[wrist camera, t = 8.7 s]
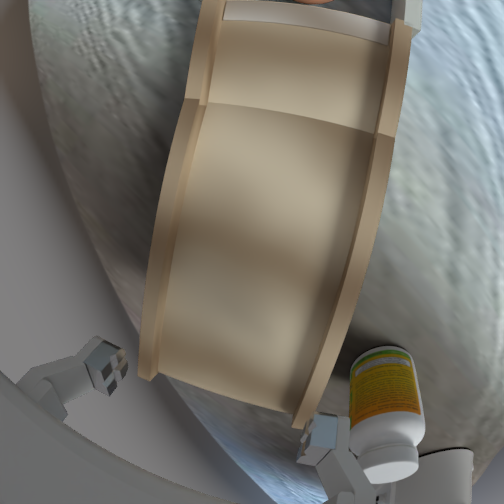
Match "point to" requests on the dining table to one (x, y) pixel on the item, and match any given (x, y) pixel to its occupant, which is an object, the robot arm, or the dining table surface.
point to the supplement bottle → (385, 414)
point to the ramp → (271, 199)
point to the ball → (313, 1)
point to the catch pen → (406, 13)
